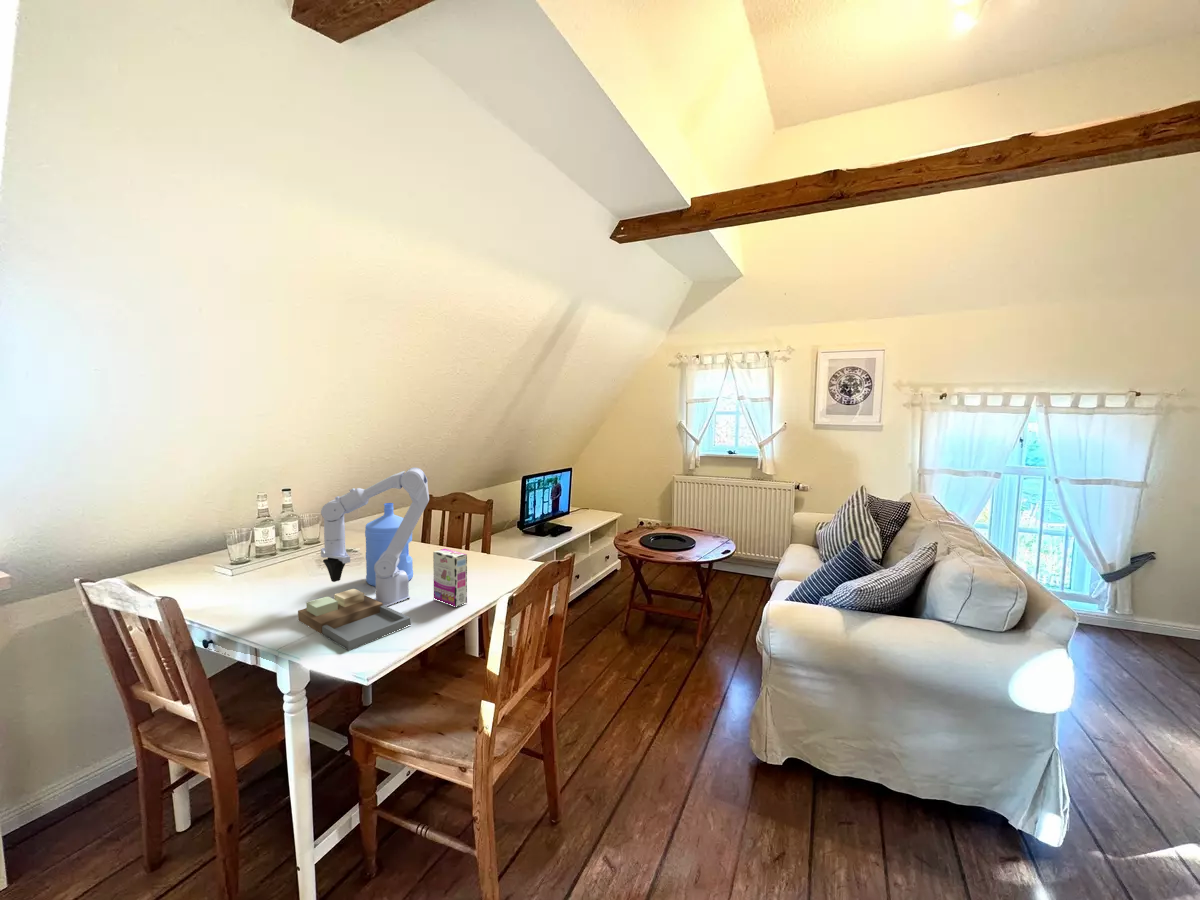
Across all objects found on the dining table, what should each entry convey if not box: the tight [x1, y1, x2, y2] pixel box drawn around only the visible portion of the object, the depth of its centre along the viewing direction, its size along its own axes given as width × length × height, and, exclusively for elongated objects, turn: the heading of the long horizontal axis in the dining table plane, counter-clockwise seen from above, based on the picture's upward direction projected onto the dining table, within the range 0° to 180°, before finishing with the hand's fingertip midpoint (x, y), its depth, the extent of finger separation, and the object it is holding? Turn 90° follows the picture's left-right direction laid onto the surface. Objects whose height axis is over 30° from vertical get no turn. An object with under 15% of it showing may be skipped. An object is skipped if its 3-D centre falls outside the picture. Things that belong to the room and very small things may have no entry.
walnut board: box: [297, 594, 383, 635], centre depth 147 cm, size 18×14×3 cm
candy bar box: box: [432, 548, 468, 608], centre depth 159 cm, size 11×5×16 cm, turn 56°
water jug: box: [364, 502, 414, 587], centre depth 176 cm, size 16×16×28 cm
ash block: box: [333, 588, 365, 607], centre depth 150 cm, size 6×6×2 cm
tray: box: [321, 605, 412, 651], centre depth 138 cm, size 18×14×2 cm
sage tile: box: [306, 596, 338, 616], centre depth 144 cm, size 6×6×2 cm
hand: (335, 580), depth 155 cm, fingers closed
